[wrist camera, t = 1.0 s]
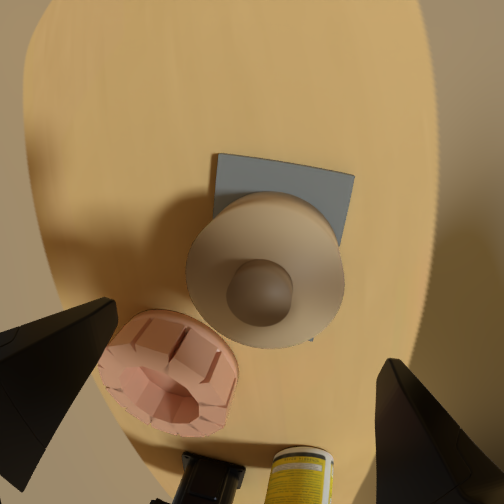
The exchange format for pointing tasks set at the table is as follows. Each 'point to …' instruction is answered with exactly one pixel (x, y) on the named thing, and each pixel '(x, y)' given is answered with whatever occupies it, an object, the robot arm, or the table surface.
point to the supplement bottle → (300, 477)
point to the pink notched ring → (171, 373)
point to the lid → (267, 271)
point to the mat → (284, 185)
